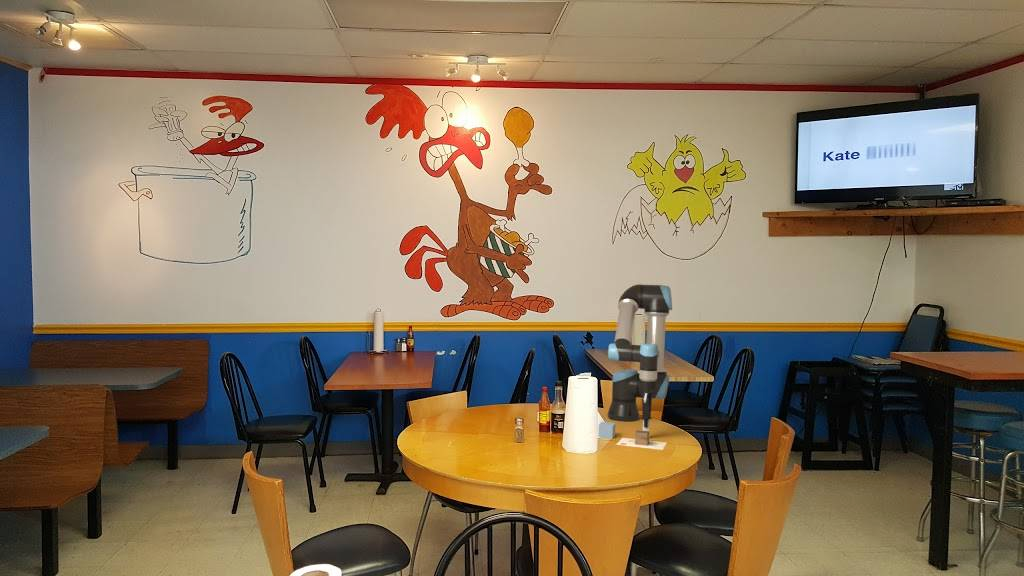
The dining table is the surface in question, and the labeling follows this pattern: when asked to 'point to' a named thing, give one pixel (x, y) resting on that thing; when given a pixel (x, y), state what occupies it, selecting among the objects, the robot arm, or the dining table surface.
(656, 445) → the letter mat
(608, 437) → the blue cube
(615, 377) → the robot arm
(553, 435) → the dining table surface
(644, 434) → the walnut block
